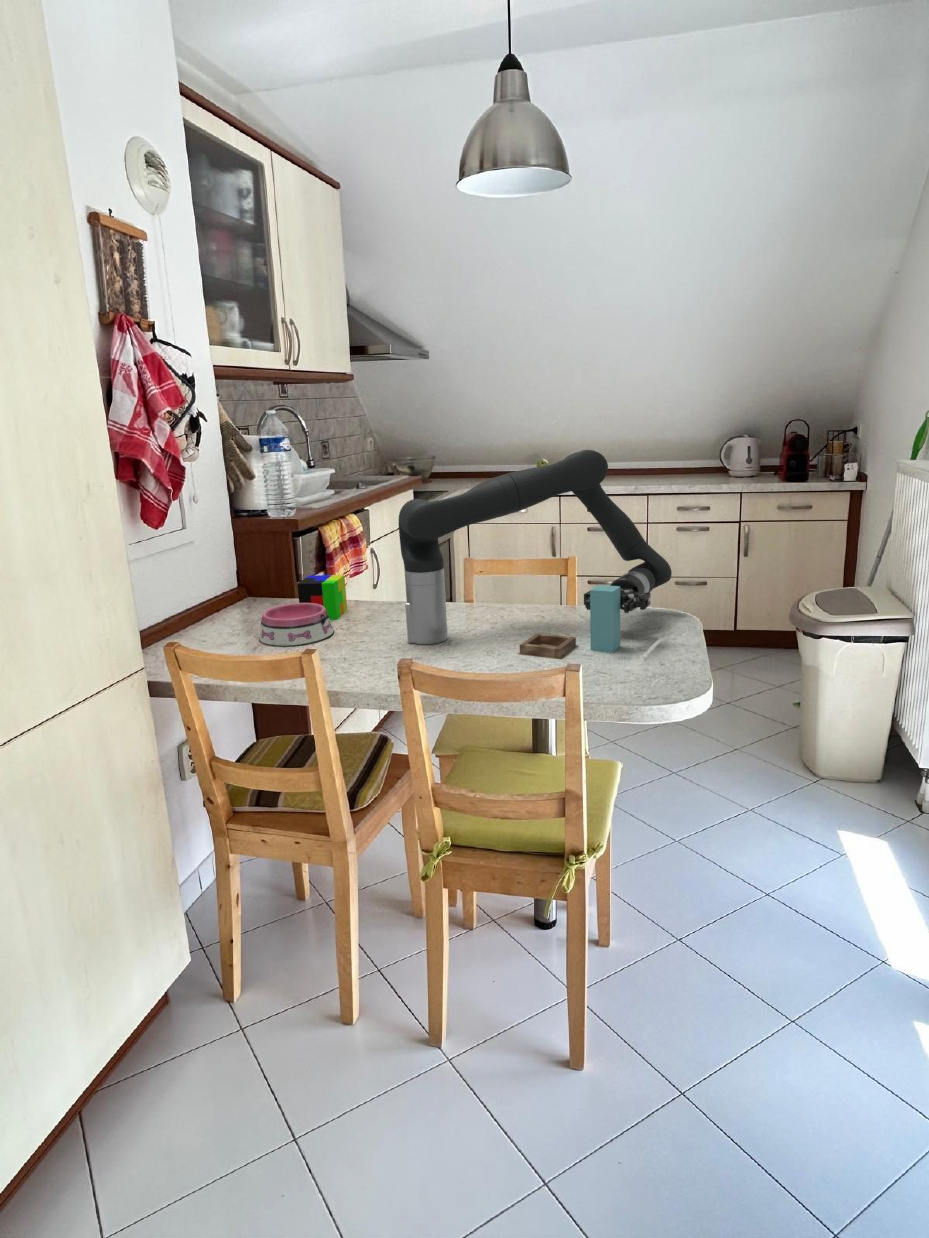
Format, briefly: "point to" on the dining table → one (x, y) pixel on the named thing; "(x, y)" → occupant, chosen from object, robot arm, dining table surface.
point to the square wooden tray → (548, 646)
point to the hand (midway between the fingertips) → (606, 607)
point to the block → (605, 618)
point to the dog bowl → (295, 625)
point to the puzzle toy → (325, 593)
